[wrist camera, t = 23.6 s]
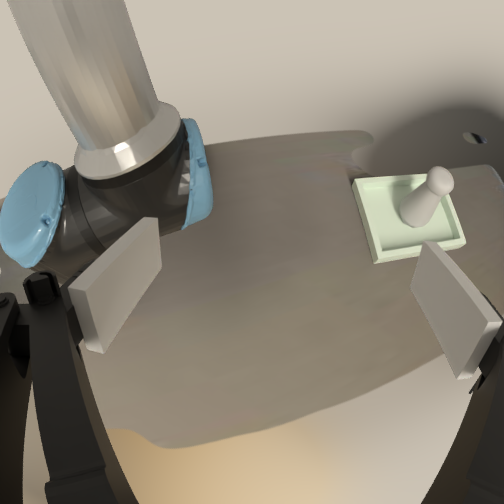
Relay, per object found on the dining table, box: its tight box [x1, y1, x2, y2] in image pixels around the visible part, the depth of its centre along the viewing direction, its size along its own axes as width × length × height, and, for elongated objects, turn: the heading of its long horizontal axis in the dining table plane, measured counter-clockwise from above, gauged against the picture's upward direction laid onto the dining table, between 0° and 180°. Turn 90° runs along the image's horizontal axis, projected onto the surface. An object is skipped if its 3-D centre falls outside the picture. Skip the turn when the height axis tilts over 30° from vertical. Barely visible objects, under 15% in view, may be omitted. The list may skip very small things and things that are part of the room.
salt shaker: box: [400, 166, 454, 228], centre depth 42 cm, size 6×6×13 cm
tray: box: [352, 174, 466, 264], centre depth 48 cm, size 18×14×2 cm
